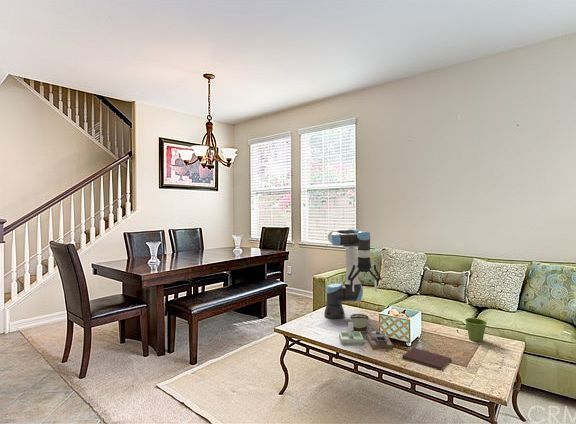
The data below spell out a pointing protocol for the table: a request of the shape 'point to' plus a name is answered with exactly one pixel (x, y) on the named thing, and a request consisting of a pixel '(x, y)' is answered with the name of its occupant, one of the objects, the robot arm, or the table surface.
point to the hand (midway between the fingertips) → (364, 291)
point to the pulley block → (378, 340)
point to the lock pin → (350, 330)
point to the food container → (359, 322)
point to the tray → (345, 339)
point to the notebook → (426, 358)
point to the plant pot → (475, 328)
